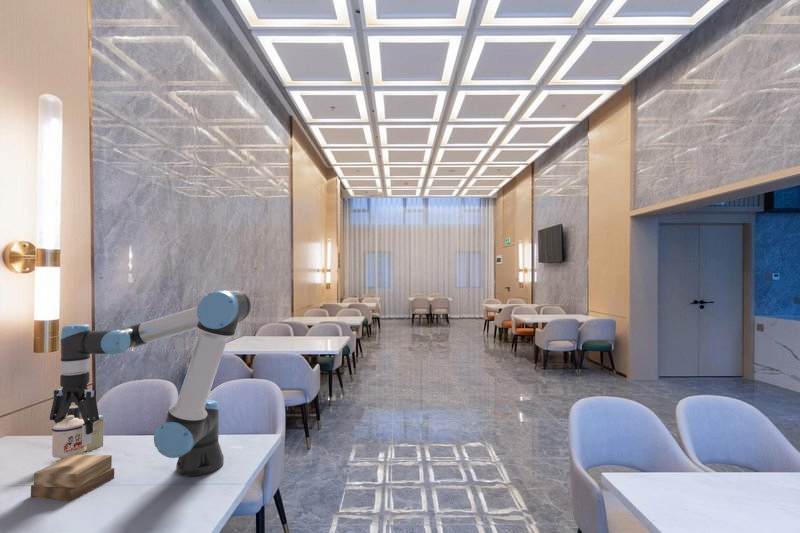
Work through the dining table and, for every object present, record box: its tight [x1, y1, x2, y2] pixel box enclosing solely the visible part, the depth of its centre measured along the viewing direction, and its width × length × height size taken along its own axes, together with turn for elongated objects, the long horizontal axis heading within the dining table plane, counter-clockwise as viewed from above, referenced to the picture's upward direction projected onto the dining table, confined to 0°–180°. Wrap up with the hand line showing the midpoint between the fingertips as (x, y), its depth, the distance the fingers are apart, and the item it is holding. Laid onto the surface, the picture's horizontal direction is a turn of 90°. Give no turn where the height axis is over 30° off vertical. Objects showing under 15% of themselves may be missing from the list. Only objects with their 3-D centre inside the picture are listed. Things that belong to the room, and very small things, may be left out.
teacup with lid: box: [51, 415, 94, 459], centre depth 136 cm, size 12×9×12 cm
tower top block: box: [33, 454, 113, 488], centre depth 135 cm, size 14×14×4 cm
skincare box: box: [84, 414, 105, 452], centre depth 167 cm, size 6×4×12 cm
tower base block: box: [30, 467, 115, 502], centre depth 135 cm, size 15×15×4 cm
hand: (73, 443), depth 135 cm, fingers closed on teacup with lid, 9 cm apart
